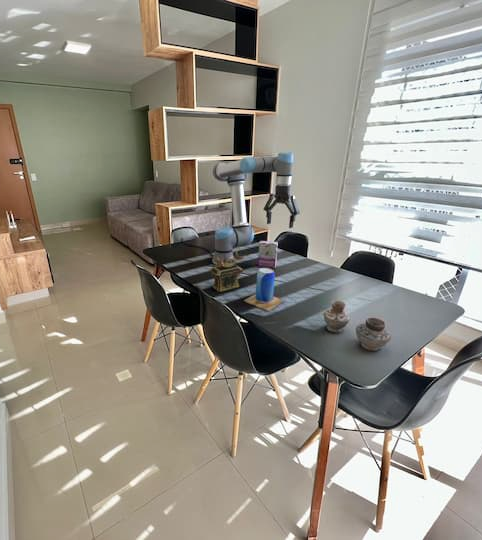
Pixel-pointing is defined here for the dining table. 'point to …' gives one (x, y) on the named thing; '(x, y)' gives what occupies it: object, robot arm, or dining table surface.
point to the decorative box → (226, 274)
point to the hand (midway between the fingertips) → (279, 225)
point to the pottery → (358, 327)
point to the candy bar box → (267, 254)
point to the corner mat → (267, 306)
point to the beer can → (265, 285)
